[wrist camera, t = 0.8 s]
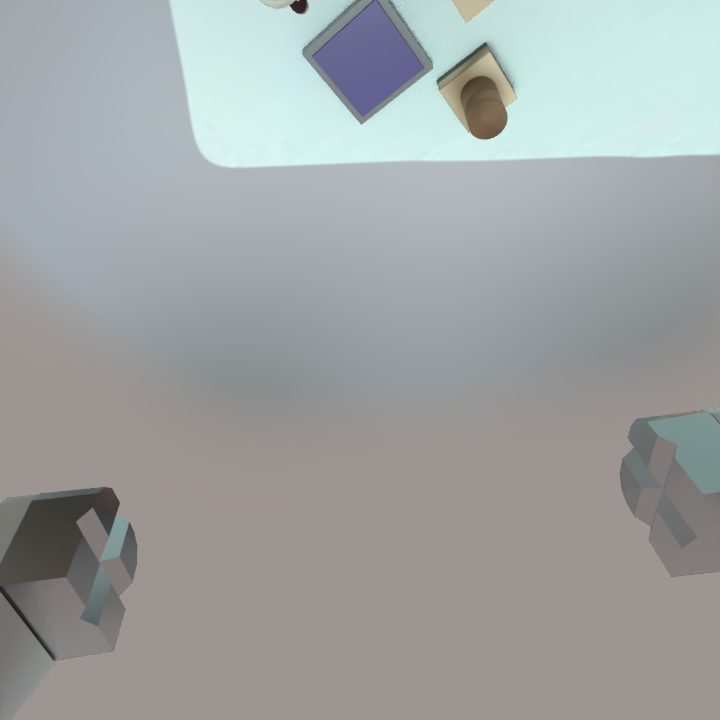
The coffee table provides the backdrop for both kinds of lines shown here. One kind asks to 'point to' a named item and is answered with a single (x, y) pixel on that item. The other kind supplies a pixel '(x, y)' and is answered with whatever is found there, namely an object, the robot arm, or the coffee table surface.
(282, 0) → the grandmother figurine
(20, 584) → the robot arm
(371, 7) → the ink pad
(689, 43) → the coffee table surface
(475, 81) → the stamp
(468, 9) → the card sheet
